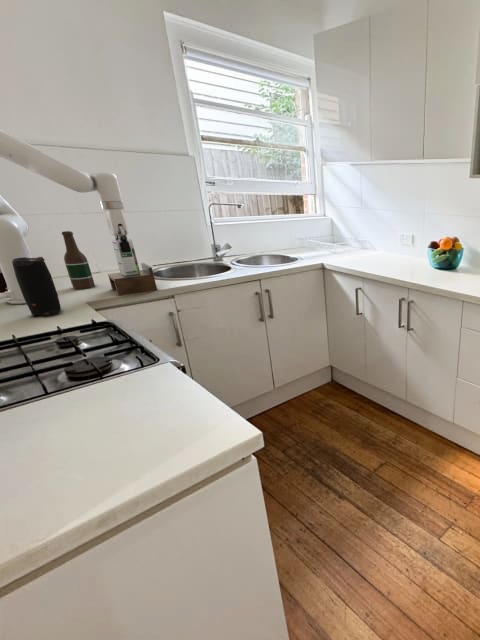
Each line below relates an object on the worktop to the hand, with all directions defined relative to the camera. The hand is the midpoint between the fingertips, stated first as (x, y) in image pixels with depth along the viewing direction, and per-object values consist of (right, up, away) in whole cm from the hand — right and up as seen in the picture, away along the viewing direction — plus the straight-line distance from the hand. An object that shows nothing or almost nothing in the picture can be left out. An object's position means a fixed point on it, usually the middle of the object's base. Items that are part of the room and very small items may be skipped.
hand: (124, 250), depth 161 cm
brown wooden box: (0, -16, +6) cm, 17 cm away
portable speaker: (-8, -29, -26) cm, 39 cm away
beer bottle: (-24, -14, +9) cm, 30 cm away
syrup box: (0, -9, +4) cm, 10 cm away
